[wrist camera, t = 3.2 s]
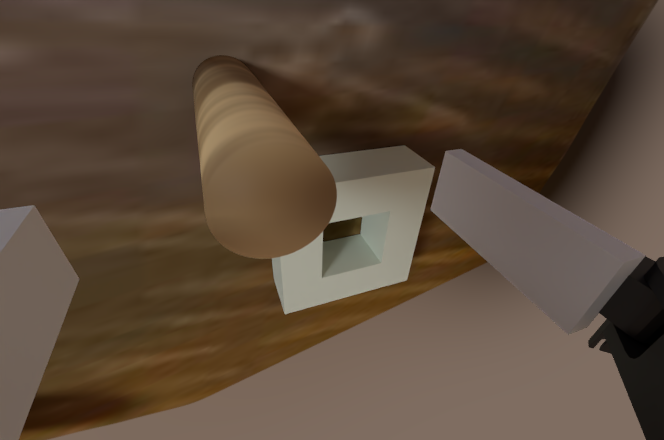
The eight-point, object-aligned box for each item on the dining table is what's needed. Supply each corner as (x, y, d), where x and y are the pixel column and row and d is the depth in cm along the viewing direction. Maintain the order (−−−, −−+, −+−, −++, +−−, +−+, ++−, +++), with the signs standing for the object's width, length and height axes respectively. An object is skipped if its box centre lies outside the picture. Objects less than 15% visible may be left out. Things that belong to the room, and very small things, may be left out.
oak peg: (185, 56, 21) (190, 154, 9) (253, 54, 22) (339, 137, 10) (199, 122, 23) (218, 270, 11) (259, 117, 24) (334, 244, 12)
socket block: (262, 163, 27) (275, 192, 23) (404, 145, 31) (435, 167, 27) (273, 278, 35) (284, 314, 31) (385, 251, 39) (406, 280, 35)
